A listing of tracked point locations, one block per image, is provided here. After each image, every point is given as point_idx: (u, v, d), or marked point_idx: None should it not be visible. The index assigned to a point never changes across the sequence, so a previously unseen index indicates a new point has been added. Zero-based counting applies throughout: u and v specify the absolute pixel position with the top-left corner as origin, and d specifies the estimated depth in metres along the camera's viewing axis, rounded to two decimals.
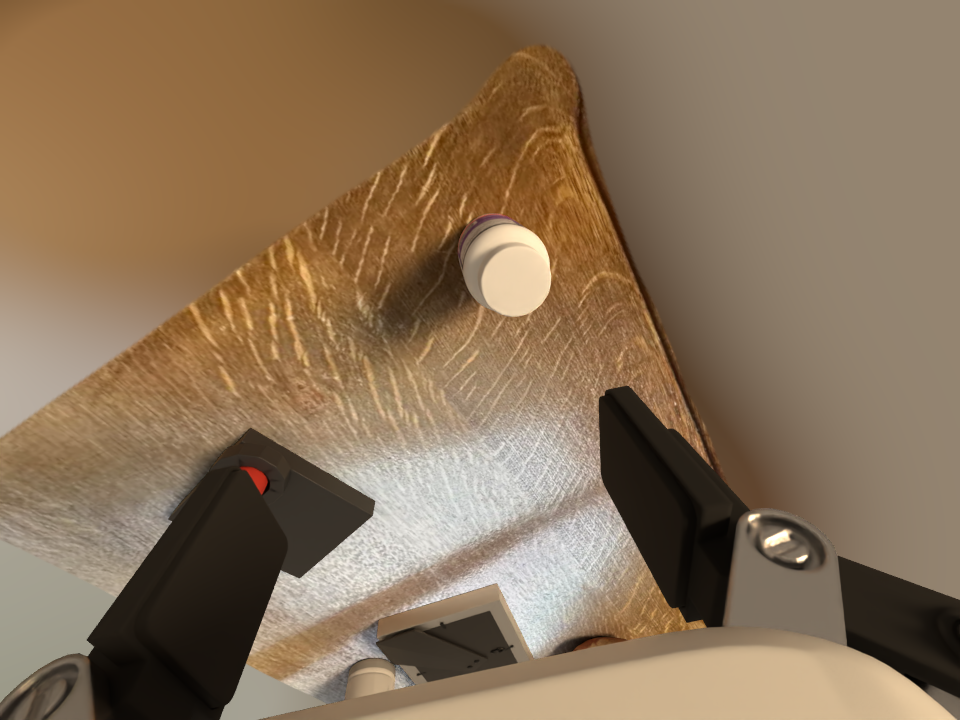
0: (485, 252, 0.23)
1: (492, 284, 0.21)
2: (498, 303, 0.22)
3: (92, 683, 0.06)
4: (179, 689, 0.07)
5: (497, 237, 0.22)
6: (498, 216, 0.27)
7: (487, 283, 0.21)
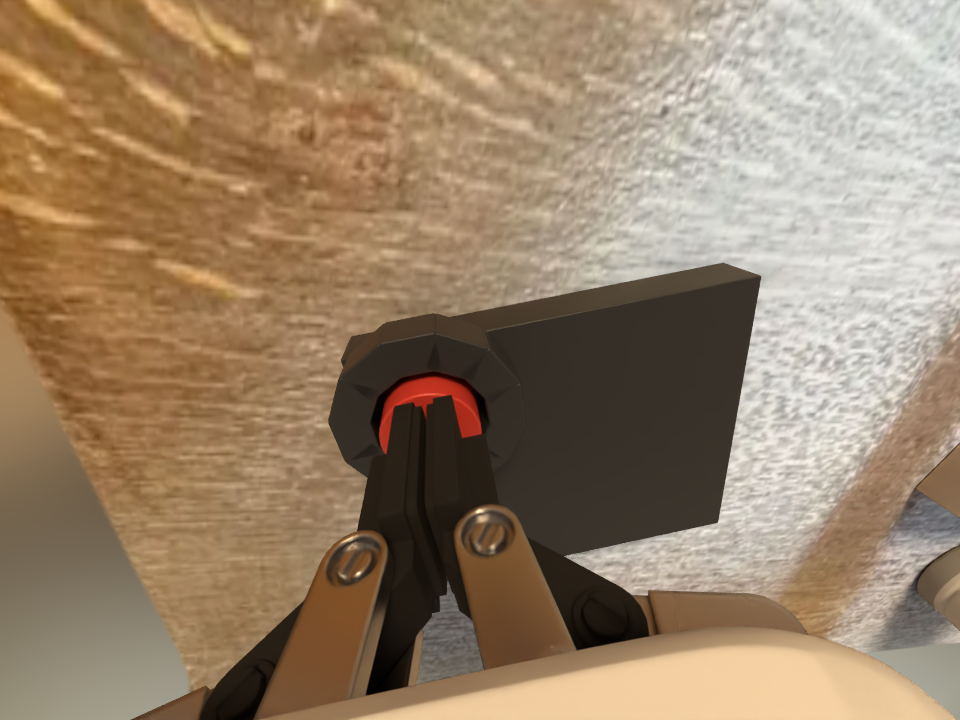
0: None
1: None
2: None
3: (382, 577, 0.06)
4: (425, 572, 0.08)
5: None
6: None
7: None
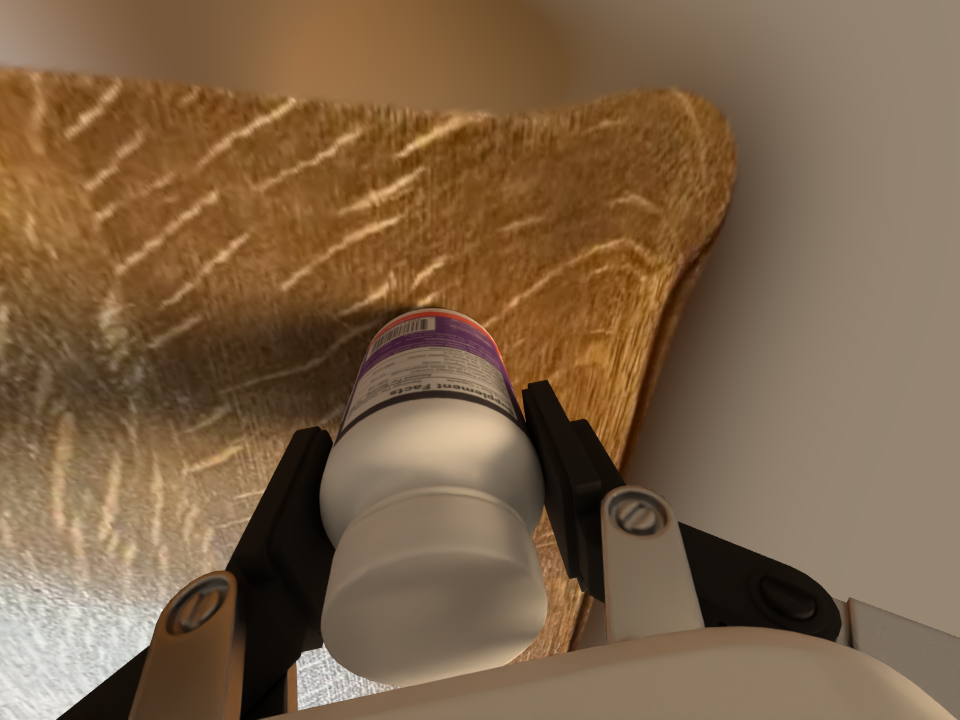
0: (407, 465, 0.08)
1: (368, 610, 0.06)
2: (357, 650, 0.07)
3: (235, 606, 0.06)
4: (296, 609, 0.08)
5: (459, 445, 0.08)
6: (480, 343, 0.12)
7: (355, 603, 0.06)
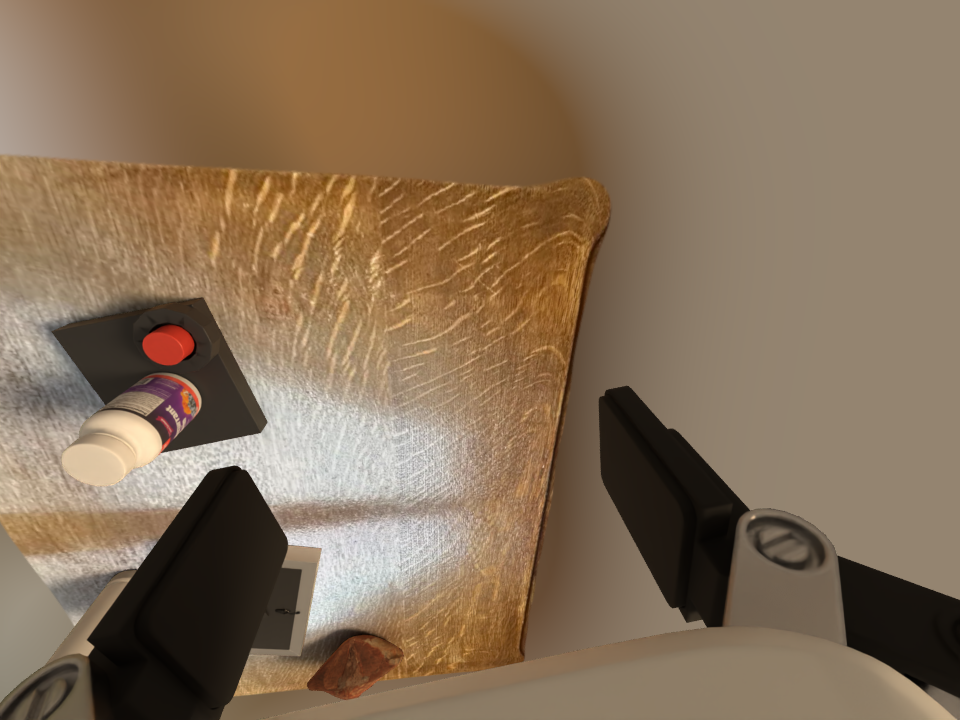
0: (96, 428, 0.29)
1: (71, 459, 0.28)
2: (73, 471, 0.28)
3: (92, 683, 0.06)
4: (178, 689, 0.07)
5: (111, 422, 0.29)
6: (165, 388, 0.34)
7: (67, 457, 0.28)
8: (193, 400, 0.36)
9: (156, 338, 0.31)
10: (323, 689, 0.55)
